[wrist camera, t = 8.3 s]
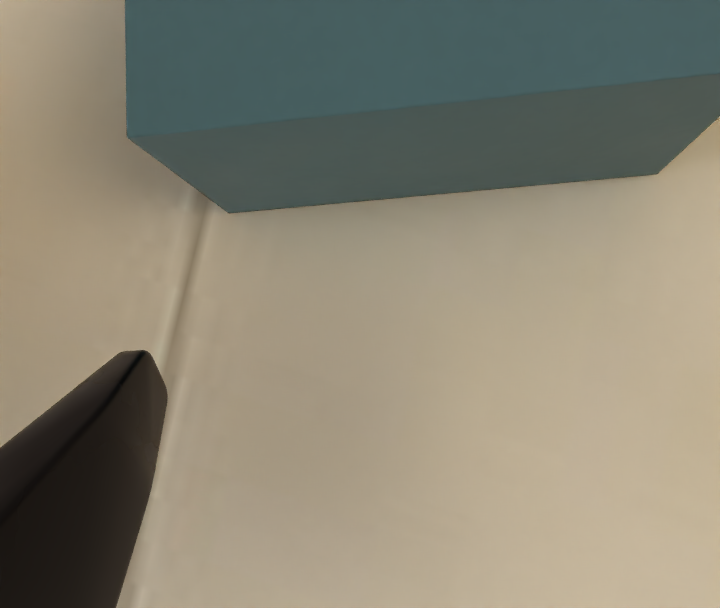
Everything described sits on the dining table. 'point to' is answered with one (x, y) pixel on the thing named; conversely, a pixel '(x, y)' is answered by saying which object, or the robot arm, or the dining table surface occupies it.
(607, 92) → the small tissue box
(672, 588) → the dining table surface
